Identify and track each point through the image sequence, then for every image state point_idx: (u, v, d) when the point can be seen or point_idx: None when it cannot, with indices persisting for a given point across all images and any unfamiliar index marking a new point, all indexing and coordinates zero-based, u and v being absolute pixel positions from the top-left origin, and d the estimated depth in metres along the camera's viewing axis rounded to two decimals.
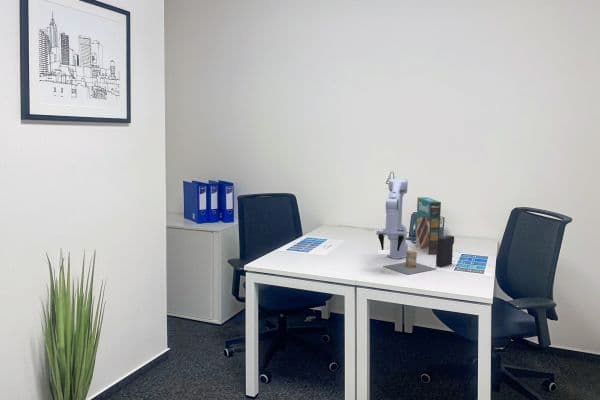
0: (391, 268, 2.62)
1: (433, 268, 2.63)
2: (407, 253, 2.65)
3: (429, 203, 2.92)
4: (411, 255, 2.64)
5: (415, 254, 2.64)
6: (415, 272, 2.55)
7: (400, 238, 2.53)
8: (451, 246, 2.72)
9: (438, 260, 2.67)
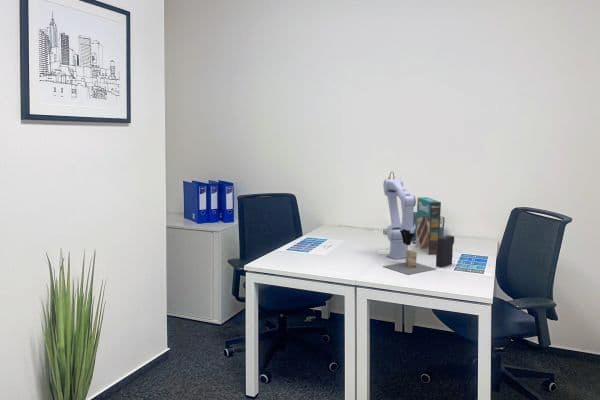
0: (391, 268, 2.62)
1: (433, 268, 2.63)
2: (407, 253, 2.65)
3: (429, 203, 2.92)
4: (411, 255, 2.64)
5: (415, 254, 2.64)
6: (415, 272, 2.55)
7: (404, 233, 2.68)
8: (451, 246, 2.72)
9: (438, 260, 2.67)
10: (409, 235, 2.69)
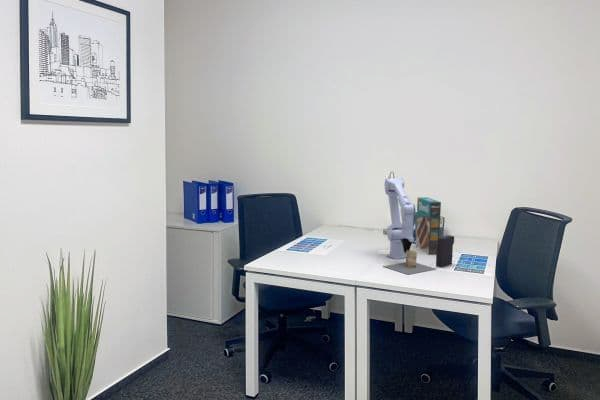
0: (391, 268, 2.62)
1: (433, 268, 2.63)
2: (407, 253, 2.65)
3: (429, 203, 2.92)
4: (411, 255, 2.64)
5: (415, 254, 2.64)
6: (415, 272, 2.55)
7: (403, 241, 2.70)
8: (451, 246, 2.72)
9: (438, 260, 2.67)
10: (408, 243, 2.71)
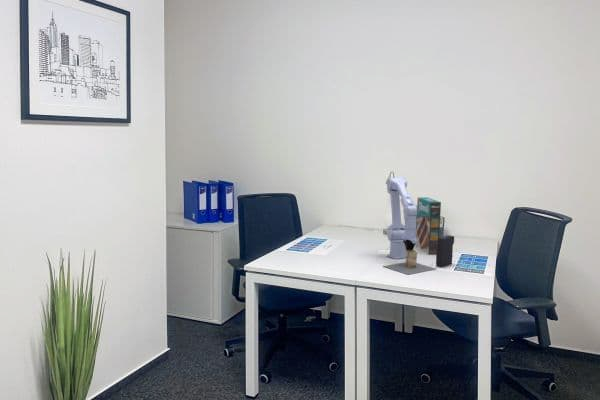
0: (391, 268, 2.62)
1: (433, 268, 2.63)
2: (407, 253, 2.65)
3: (429, 203, 2.92)
4: (411, 255, 2.63)
5: (416, 255, 2.63)
6: (415, 272, 2.55)
7: (405, 243, 2.66)
8: (451, 246, 2.72)
9: (438, 260, 2.67)
10: (410, 244, 2.67)
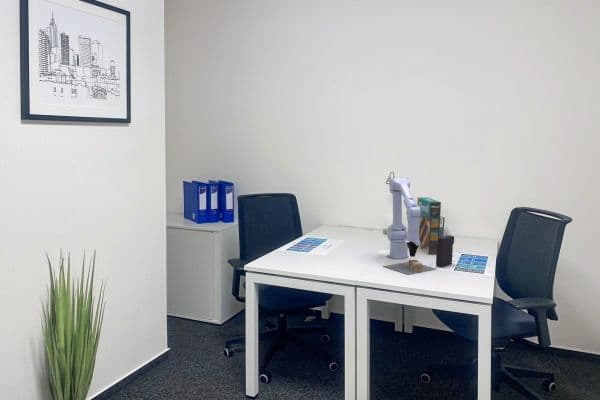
0: (391, 268, 2.62)
1: (433, 268, 2.63)
2: (413, 266, 2.57)
3: (429, 203, 2.92)
4: None
5: None
6: (415, 272, 2.55)
7: (409, 245, 2.62)
8: (451, 246, 2.72)
9: (438, 260, 2.67)
10: (414, 246, 2.63)
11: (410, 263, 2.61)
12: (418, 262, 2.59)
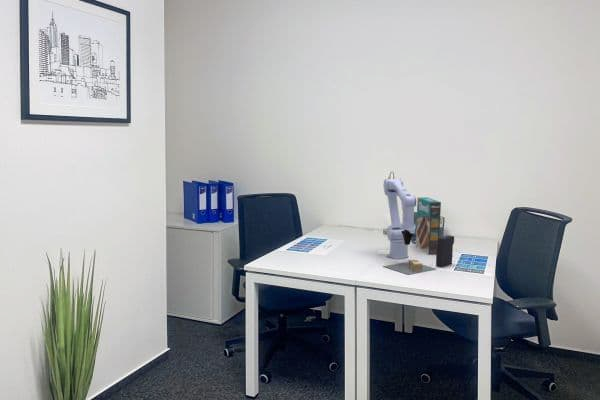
0: (391, 268, 2.62)
1: (433, 268, 2.63)
2: (413, 266, 2.57)
3: (429, 203, 2.92)
4: None
5: None
6: (415, 272, 2.55)
7: (403, 233, 2.69)
8: (451, 246, 2.72)
9: (438, 260, 2.67)
10: (408, 235, 2.70)
11: (410, 263, 2.61)
12: (418, 262, 2.59)
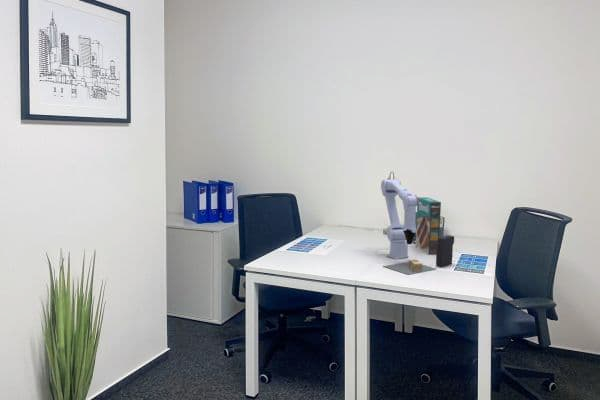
0: (391, 268, 2.62)
1: (433, 268, 2.63)
2: (413, 266, 2.57)
3: (429, 203, 2.92)
4: None
5: None
6: (415, 272, 2.55)
7: (405, 232, 2.70)
8: (451, 246, 2.72)
9: (438, 260, 2.67)
10: (410, 234, 2.71)
11: (410, 263, 2.61)
12: (418, 262, 2.59)
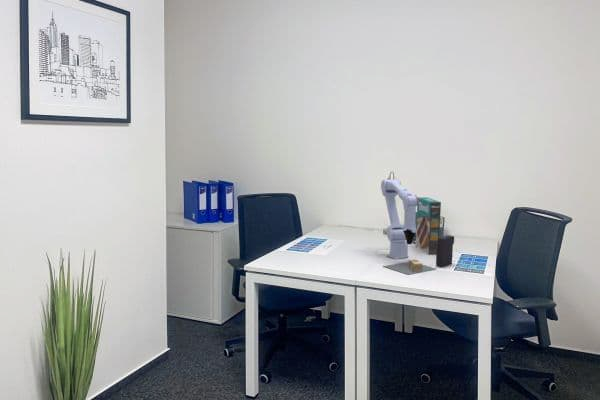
0: (391, 268, 2.62)
1: (433, 268, 2.63)
2: (413, 266, 2.57)
3: (429, 203, 2.92)
4: None
5: None
6: (415, 272, 2.55)
7: (405, 232, 2.70)
8: (451, 246, 2.72)
9: (438, 260, 2.67)
10: (410, 234, 2.71)
11: (410, 263, 2.61)
12: (418, 262, 2.59)
